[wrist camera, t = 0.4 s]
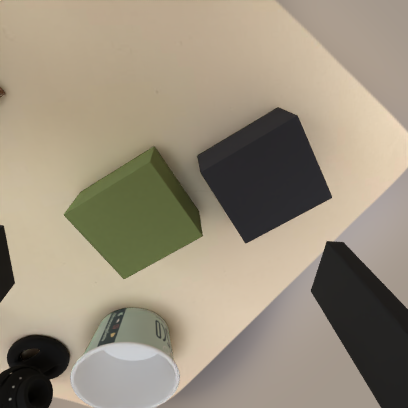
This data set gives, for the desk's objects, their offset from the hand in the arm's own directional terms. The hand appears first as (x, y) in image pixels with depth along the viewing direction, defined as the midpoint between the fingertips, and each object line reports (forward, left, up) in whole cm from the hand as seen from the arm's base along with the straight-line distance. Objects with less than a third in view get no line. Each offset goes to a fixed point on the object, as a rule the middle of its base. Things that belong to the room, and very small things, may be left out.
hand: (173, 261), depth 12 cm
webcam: (+30, +14, -18) cm, 38 cm away
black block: (-6, +6, -18) cm, 20 cm away
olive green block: (+6, +3, -18) cm, 19 cm away
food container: (+18, +18, -18) cm, 31 cm away
